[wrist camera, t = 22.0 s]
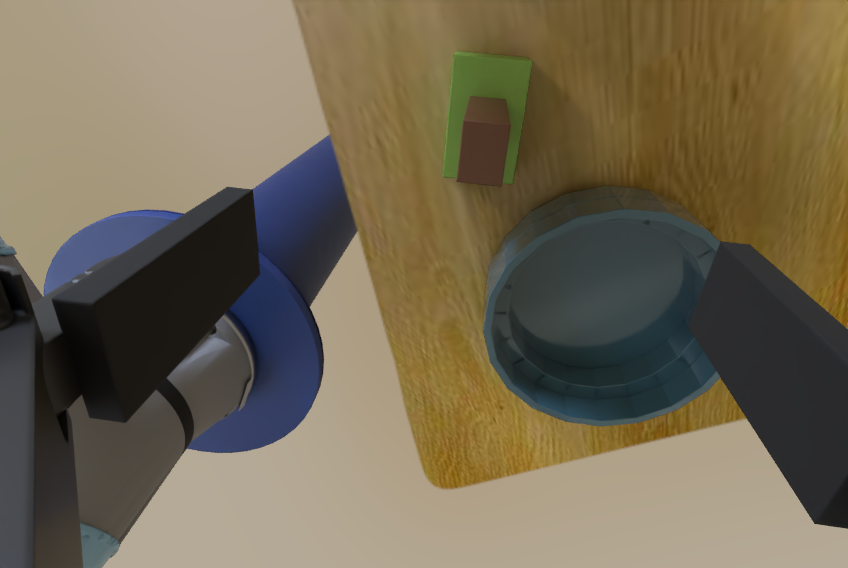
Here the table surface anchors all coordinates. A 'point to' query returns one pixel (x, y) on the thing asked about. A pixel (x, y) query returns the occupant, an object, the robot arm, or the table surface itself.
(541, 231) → the bowl
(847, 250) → the table surface
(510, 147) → the sponge brush
